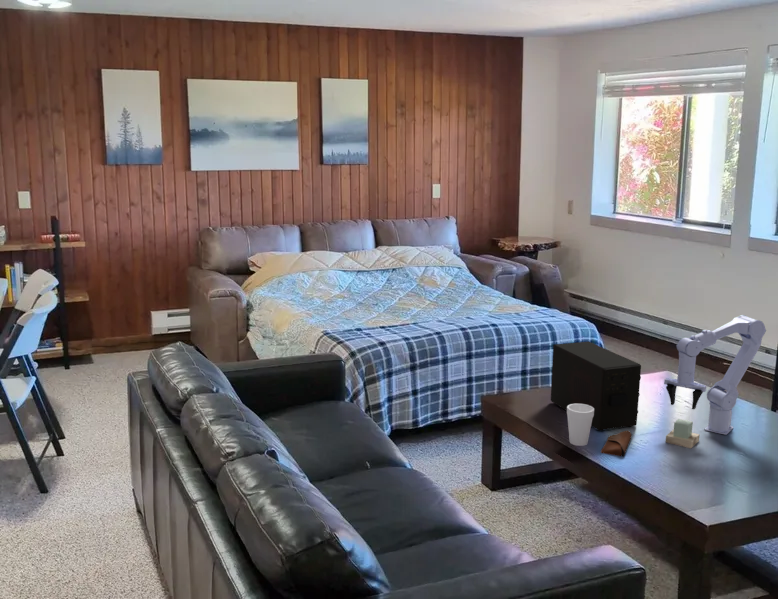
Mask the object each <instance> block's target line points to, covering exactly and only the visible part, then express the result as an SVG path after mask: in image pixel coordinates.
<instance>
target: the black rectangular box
mask: <svg viewBox="0 0 778 599" xmlns="http://www.w3.org/2000/svg"><path fill="white" fill-rule="evenodd" d="M552 348H553V349H552V366H551V383H550V384H551V389H550V401H551V402H552V403H553V404H555V405H556V406H558V407H560V408H562V409H563V410H565V411H566V412H567V406H568V405H570V404H586V405H589V406H592V407H593V408H594V417H593V419H592V424H591V427H592V428H594V429H596V430H597V431H601V432H604V430H613V429H614V430H615V429H619V428H631V427H636V426H637V424H638V414H639V398H640V395H641V394H640V387H641V386H640V384H641V378H642V377H641V372H642V365H641V364H640V363H638V362H636V361H634V360H631V359H629V358H627V357H625V356H622V355H621V354H619V353H615V352H614V351H611V350H608V349H607V348H605V347H601V346H600V345H597V344H595V343H594V342H591V341H579V342H569V343H566V342H565V343H558V344H553V346H552Z"/></svg>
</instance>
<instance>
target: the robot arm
mask: <svg viewBox="0 0 778 599" xmlns="http://www.w3.org/2000/svg"><path fill="white" fill-rule="evenodd" d="M766 331H767V329H766V326H765V324H764V322H763V321H762V320H760V319H756V318H753V317H750V316H747V315H745V314H741V315H738V316H735V317H733V319H732V320H731V321H729V322H727V323H725V324H723V325H722V326H719V327H718V328H715V329H714V330H710V329H703V330H701V332H698V333H697V334H692V335H690V337H682V338H681V339H679V340H678V342H677V344H676V349H677V351H678V366H677V378H670V377H669V378H668V377H665V379H664V383H663V384H664V385H665V389H666V391H667V393H668V397H669V400H670V401H669V402H670V406H673V405H675V401H676V391H677V387H680V388H685V389H689V390H690V389H691V390H693V391H692V406H691V410H696V409H697V404H698V402H699V400H700V398H701V396H702V394H703V393H705V392H706V391H707V392H706V399H707V400H708V401H709V414H708V423H707V426H706V427H705V428H704V431H706V432H710V433H711V432H712V433H716V434H721V435H725V436H726V435H728V434H729V433H730V432H731V431H732V430H733V428H734V426H732V425H731V424H732V414H733V411H732V409H733V408H735V406H736V404H737V399H738V396H739V395H740V394H739V391H738V389H737V388H738V386H739V384H740V382H741V380H742V378H743V377H744V376H745V373H746V371H747V369H748V368H749V367H750V364H751V363H752V361H753V359H754V358H755V356H756V354H757V352H758V351H759V349H760V347H761V346H762V345H761V344H762V342H763V341H762V340H763V337H764V336H765V334H766ZM736 333H737V334H738V335H739V336H740V337H741V340H742V345H741V346H740V349H739V350H738V352H737V353H736V355H735V357H734V358H733V360H732V362H731V364H730V365H729V367H728V369H727V371H726V372H725V374H724V376H723V377H722V379H721V380H718V381H716V382H715V383H714V384H713V386H711V387H710V388H709V389H708V390H707V385H704V384H701V383H697V382H695V374H696V362H697V356H698V355H699V354H700V352H701V351H702V350H705V349H706V348H709V347H711V346H714V345H715V344H716V343H717V340H720V339H721V338H725V337H727V336H730V335H733V334H736Z"/></svg>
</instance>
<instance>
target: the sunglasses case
mask: <svg viewBox="0 0 778 599" xmlns="http://www.w3.org/2000/svg"><path fill="white" fill-rule="evenodd" d="M632 437H633V434H632V433H631V431H630V430H624V431H621V432H619V433H616V434H612V435H608V437H607V440H606V441H605V443H604V445H603V447H602V448H601V450H600V451H599V452H600V453H601V454H606V455H611V456H617V457H622V458H624V457H625V455H626V453H627V451H628V447H629V445H630V443H631V440H632Z"/></svg>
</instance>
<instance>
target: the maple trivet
mask: <svg viewBox="0 0 778 599" xmlns="http://www.w3.org/2000/svg"><path fill="white" fill-rule="evenodd" d="M673 432H674V428H673V429H672V430H671V431H669V433H667V434H666V435H665V443H667V444H671V445H676V446H680V447H684V448H687V449H692V448H693V447H694V446H696V444H698V442H699V441H700V433H695V432H692V435H691V436H690V437H689V438H688V439H685V438H680V437H676V436H673Z"/></svg>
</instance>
